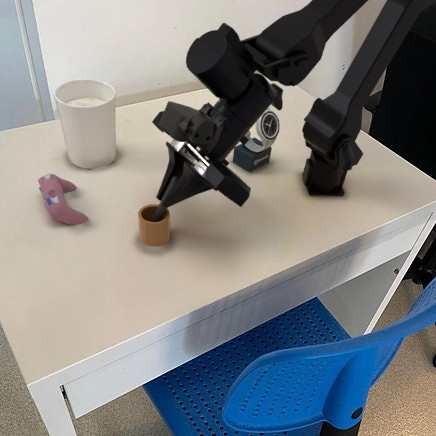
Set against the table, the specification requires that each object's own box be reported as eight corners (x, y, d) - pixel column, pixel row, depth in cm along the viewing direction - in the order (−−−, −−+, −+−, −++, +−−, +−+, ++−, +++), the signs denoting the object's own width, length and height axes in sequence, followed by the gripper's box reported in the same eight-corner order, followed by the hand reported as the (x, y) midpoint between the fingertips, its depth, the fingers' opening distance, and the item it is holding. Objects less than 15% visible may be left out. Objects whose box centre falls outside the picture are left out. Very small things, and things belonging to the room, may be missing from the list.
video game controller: (55, 202, 82) (28, 173, 77) (78, 187, 82) (53, 158, 76) (68, 240, 76) (39, 212, 71) (93, 225, 76) (66, 195, 70)
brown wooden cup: (160, 229, 77) (160, 200, 73) (174, 246, 75) (175, 218, 71) (134, 237, 76) (132, 209, 72) (147, 255, 73) (146, 227, 69)
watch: (257, 177, 89) (266, 121, 81) (225, 157, 92) (231, 101, 84) (277, 166, 92) (288, 111, 84) (245, 147, 95) (253, 92, 87)
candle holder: (109, 176, 86) (102, 111, 77) (55, 166, 86) (42, 100, 78) (127, 146, 92) (123, 84, 84) (77, 137, 93) (68, 74, 84)
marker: (176, 228, 77) (177, 173, 69) (180, 233, 76) (182, 178, 69) (141, 240, 74) (139, 184, 67) (145, 245, 74) (143, 189, 66)
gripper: (164, 51, 66) (93, 143, 69) (241, 116, 55) (154, 221, 59) (210, 97, 75) (146, 177, 78) (285, 160, 64) (207, 249, 68)
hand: (161, 202), depth 71 cm, fingers closed on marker, 1 cm apart
